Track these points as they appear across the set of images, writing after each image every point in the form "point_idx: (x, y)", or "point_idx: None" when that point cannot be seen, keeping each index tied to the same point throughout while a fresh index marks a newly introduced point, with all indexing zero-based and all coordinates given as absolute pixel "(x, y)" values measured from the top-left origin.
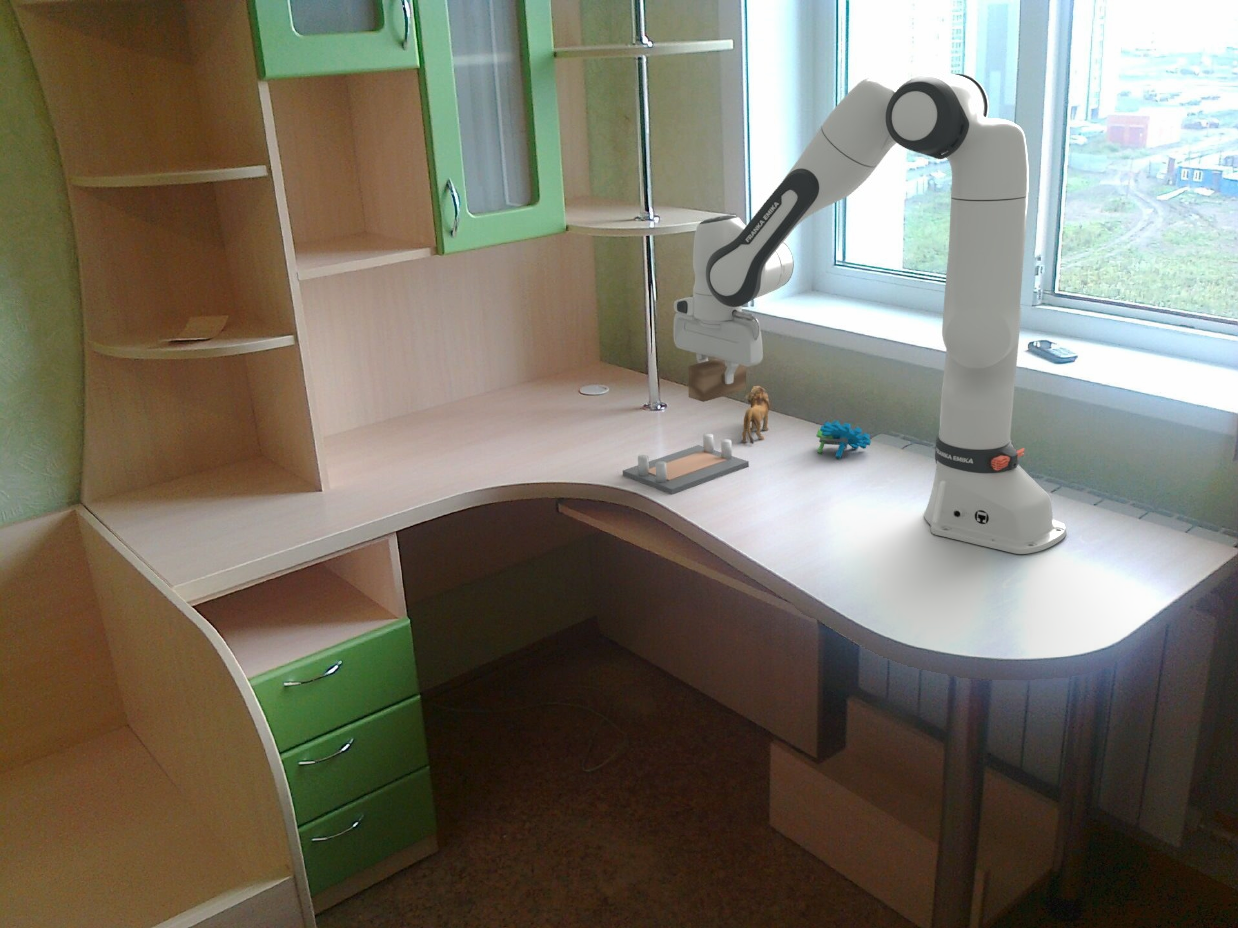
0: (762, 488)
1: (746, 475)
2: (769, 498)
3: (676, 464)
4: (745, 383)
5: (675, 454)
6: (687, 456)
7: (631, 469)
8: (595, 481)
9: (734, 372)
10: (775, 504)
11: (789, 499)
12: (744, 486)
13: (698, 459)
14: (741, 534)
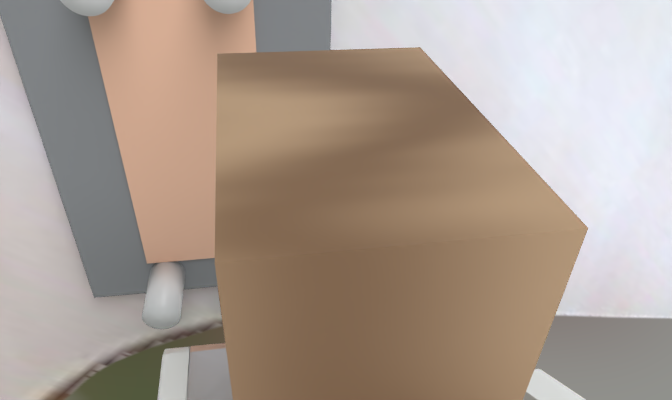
0: (507, 61)
1: (389, 10)
2: (566, 103)
3: (164, 166)
4: (439, 75)
5: (45, 94)
6: (110, 84)
7: (103, 277)
8: (95, 347)
9: (552, 380)
10: (601, 122)
11: (624, 67)
12: None
13: (172, 76)
14: (602, 279)
